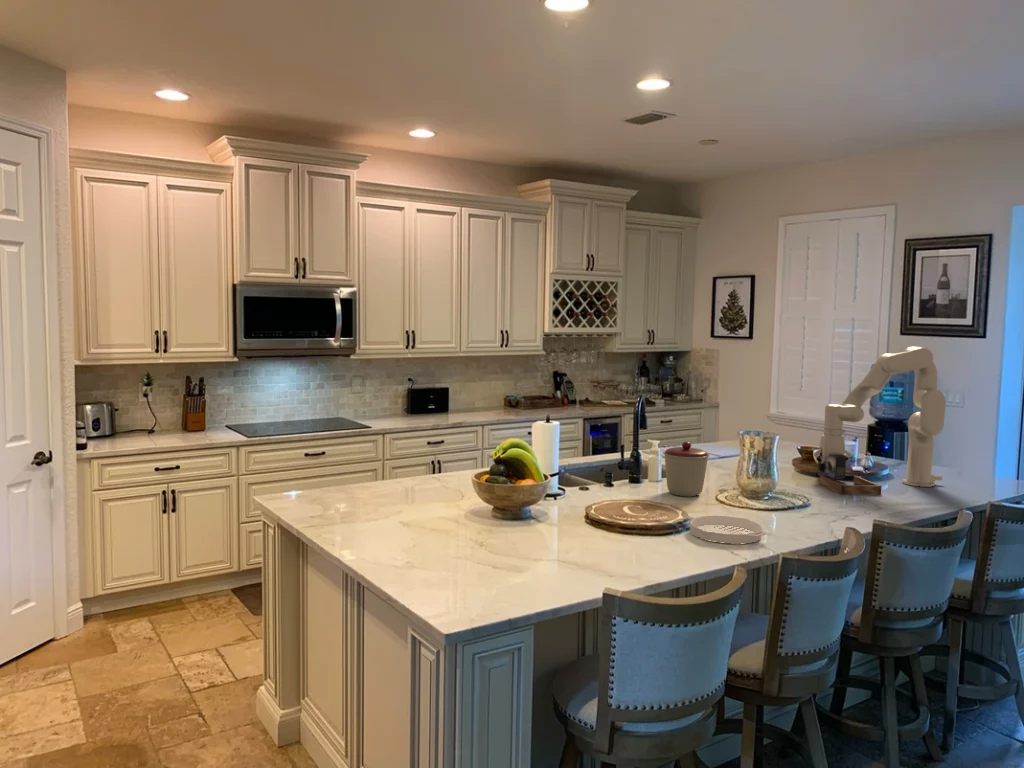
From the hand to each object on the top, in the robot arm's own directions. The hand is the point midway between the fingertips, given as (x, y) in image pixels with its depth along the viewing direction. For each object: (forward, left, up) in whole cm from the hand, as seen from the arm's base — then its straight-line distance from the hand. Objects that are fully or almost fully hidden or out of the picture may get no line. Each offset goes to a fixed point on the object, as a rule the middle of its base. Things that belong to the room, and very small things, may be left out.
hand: (831, 471), depth 341 cm
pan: (+81, +79, -4) cm, 113 cm away
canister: (+73, +27, -4) cm, 78 cm away
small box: (0, 0, -3) cm, 3 cm away
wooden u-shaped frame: (0, +17, -4) cm, 17 cm away
